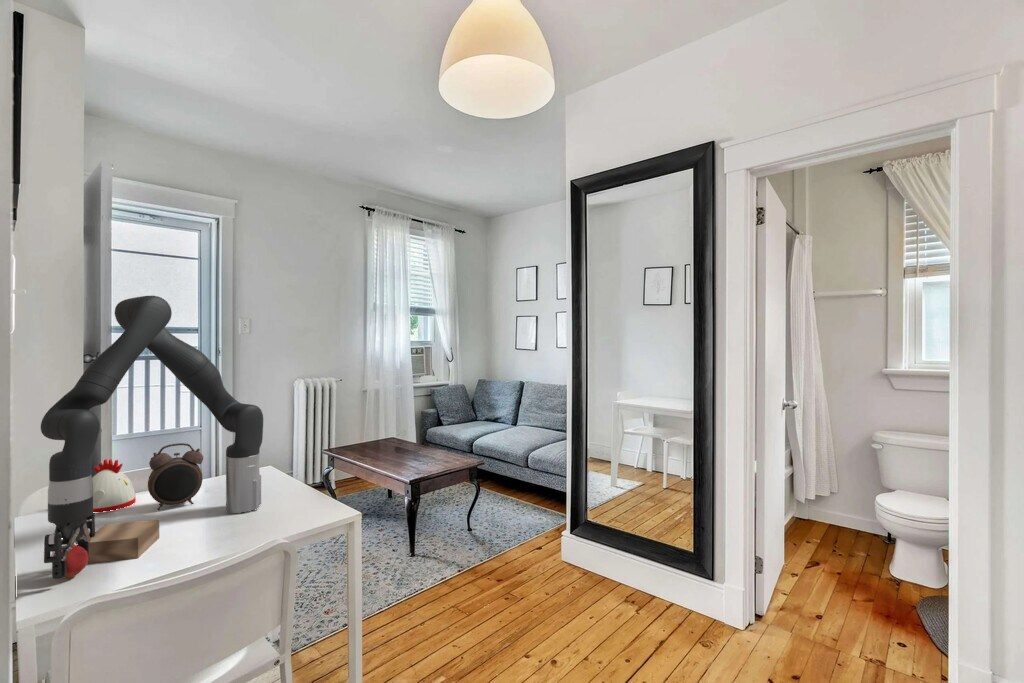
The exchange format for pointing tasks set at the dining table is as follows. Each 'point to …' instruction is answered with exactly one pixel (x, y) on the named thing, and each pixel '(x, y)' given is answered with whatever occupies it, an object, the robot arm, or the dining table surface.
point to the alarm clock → (175, 476)
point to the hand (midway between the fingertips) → (71, 568)
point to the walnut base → (122, 540)
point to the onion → (76, 560)
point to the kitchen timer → (111, 488)
